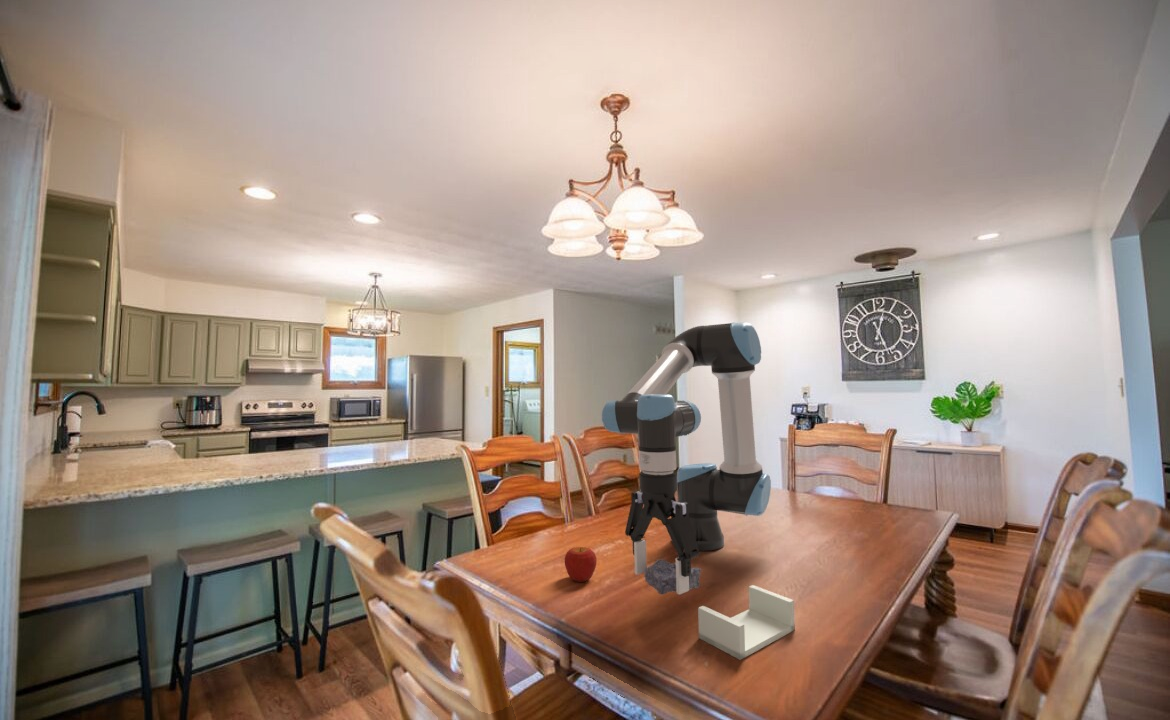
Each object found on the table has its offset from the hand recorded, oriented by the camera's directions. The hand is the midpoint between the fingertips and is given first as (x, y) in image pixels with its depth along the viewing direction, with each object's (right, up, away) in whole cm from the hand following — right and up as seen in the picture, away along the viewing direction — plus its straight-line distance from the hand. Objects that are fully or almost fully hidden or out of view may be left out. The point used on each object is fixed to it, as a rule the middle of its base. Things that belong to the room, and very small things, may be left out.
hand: (660, 581), depth 95 cm
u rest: (+16, -7, -5) cm, 18 cm away
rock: (+1, -1, +1) cm, 2 cm away
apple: (-16, -9, +21) cm, 28 cm away
